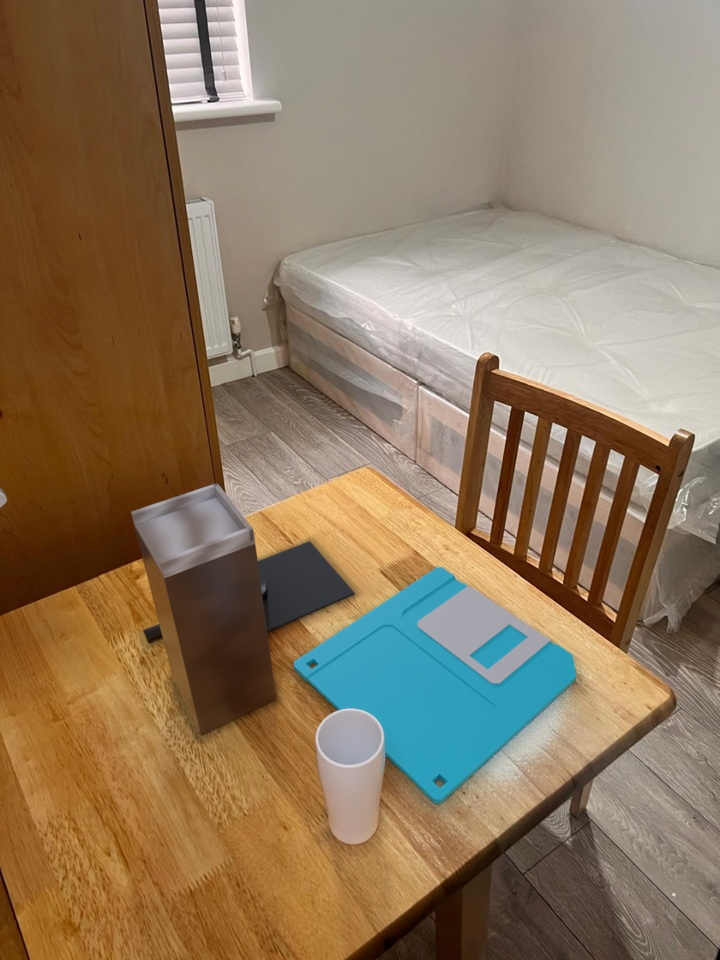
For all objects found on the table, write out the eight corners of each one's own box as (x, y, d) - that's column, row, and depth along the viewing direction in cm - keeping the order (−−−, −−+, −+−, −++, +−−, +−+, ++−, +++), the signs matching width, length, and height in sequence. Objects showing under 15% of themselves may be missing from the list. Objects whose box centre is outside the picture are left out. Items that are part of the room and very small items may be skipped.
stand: (201, 736, 88) (160, 563, 72) (173, 680, 95) (130, 511, 79) (276, 700, 92) (253, 529, 76) (244, 648, 99) (217, 482, 83)
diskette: (291, 668, 96) (291, 663, 95) (439, 570, 111) (439, 565, 110) (437, 807, 79) (438, 802, 79) (587, 670, 94) (588, 665, 94)
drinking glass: (348, 867, 74) (344, 781, 66) (309, 819, 79) (300, 732, 70) (398, 826, 78) (400, 739, 69) (358, 782, 82) (354, 695, 74)
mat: (199, 662, 97) (199, 660, 97) (165, 599, 107) (164, 597, 107) (354, 594, 107) (354, 592, 107) (309, 542, 117) (309, 540, 117)
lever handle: (150, 649, 99) (148, 640, 98) (141, 628, 102) (139, 620, 101) (272, 600, 106) (271, 592, 105) (260, 582, 109) (259, 574, 108)
